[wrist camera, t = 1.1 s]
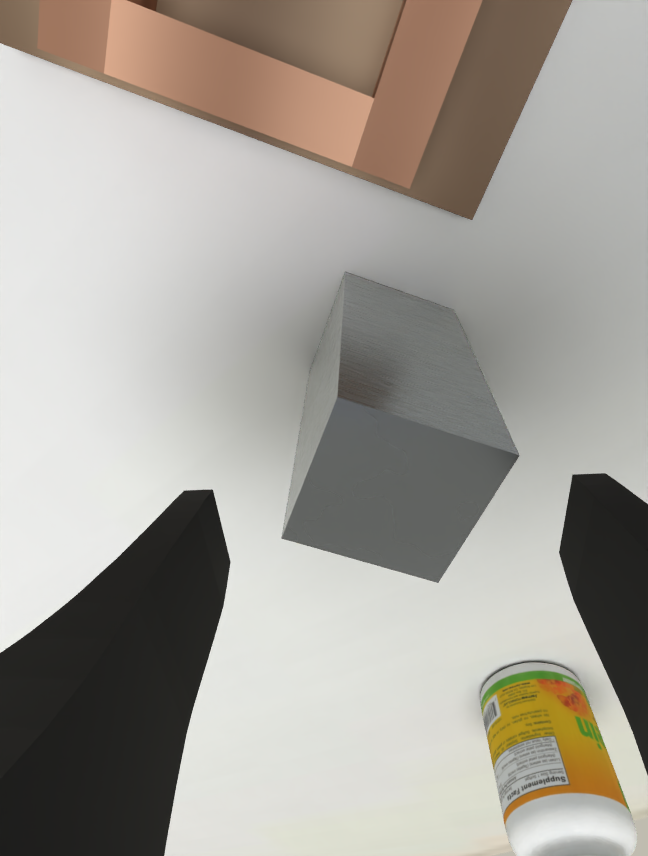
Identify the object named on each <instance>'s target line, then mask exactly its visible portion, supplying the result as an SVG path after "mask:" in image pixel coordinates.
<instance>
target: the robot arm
mask: <svg viewBox="0 0 648 856" xmlns="http://www.w3.org/2000/svg"><path fill="white" fill-rule="evenodd" d="M559 554H560V557H561V560H562V564H563V567H564V571H565V574H566V578H567V581H568V584H569V587H570V590H571V593H572V596H573V600H574V602H575V604H576V606H577V609H578V611H579V613H580V615H581V618H582V620H583V622H584V624H585V626H586V629H587V631H588V633H589V635H590V638H591V640H592V642H593V644H594V646H595V648H596V651H597V653H598V655H599V657H600V659H601V661H602V664H603V666H604V668H605V670H606V672H607V675H608V677H609V679H610V681H611V683H612V685H613V688H614V690H615V692H616V694H617V696H618V698H619V701H620V703H621V705H622V707H623V710H624V712H625V714H626V717H627V719H628V722H629V724H630V727H631V729H632V731H633V734H634V737H635V740H636V743H637V745H638V748H639V751H640V754H641V757H642V760H643V763H644V766H645V769H646V771H647V774H648V504H647V503H645V502H644V501H643V500H641V499H640V498H639V497H637V496H636V495H635V494H633V493H632V492H631V491H629V490H628V489H627V488H625V487H624V486H622V485H621V484H620V483H618V482H617V481H616V480H614V479H613V478H611V477H610V476H608V475H607V474H605V473H604V474H579V475H573V476H572V482H571V487H570V493H569V499H568V505H567V510H566V516H565V522H564V528H563V534H562V539H561V545H560V551H559ZM229 568H230V558H229V554H228V550H227V546H226V542H225V538H224V534H223V530H222V526H221V522H220V517H219V513H218V509H217V505H216V501H215V497H214V493H213V490H190V491H184V492H182V493H181V494H180V495H179V496H178V497H177V498H176V499H175V500H174V501H173V502H172V503H171V504H170V505H169V506H168V507H167V509H166V510H165V511H164V512H163V513H162V514H161V515H160V516H159V517H158V518H157V519H156V520H155V521H154V522H153V523H152V524H151V525H150V526H149V527H148V528H147V529H146V530H145V531H144V532H143V533H142V534H141V535H140V536H139V537H138V538H137V539H136V540H135V541H134V542H133V543H132V544H131V545H130V546H129V547H128V548H127V549H126V550H125V551H124V552H123V553H122V554H121V555H120V556H119V557H118V558H117V559H116V560H115V561H114V562H112V563H111V564H110V565H109V566H108V567H107V568H106V569H105V570H104V571H103V572H101V573H100V574H99V575H98V576H97V577H96V578H95V579H94V580H93V581H92V582H91V583H89V584H88V585H87V586H86V587H85V588H84V589H83V590H82V591H81V592H80V593H78V594H77V595H76V596H75V597H74V598H72V599H71V600H70V601H69V602H68V603H66V604H65V605H64V606H63V607H62V608H60V609H59V610H58V611H57V612H55V613H54V614H53V615H52V616H50V617H49V618H48V619H46V620H45V621H44V622H43V623H41V624H40V625H39V626H37V627H36V628H35V629H34V630H32V631H31V632H30V633H28V634H27V635H26V636H24V637H23V638H21V639H20V640H19V641H17V642H16V643H14V644H13V645H11V646H10V647H8V648H7V649H6V650H4V651H3V652H1V653H0V856H164V853H165V847H166V840H167V835H168V829H169V824H170V818H171V812H172V807H173V801H174V796H175V790H176V784H177V779H178V774H179V769H180V764H181V759H182V754H183V749H184V744H185V739H186V734H187V730H188V726H189V722H190V718H191V714H192V710H193V707H194V703H195V700H196V697H197V693H198V690H199V687H200V683H201V680H202V677H203V673H204V670H205V667H206V663H207V660H208V657H209V653H210V650H211V647H212V643H213V640H214V637H215V633H216V630H217V626H218V623H219V619H220V616H221V612H222V609H223V604H224V599H225V593H226V587H227V581H228V574H229Z"/></svg>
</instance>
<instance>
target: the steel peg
mask: <svg viewBox="0 0 648 856" xmlns="http://www.w3.org/2000/svg"><path fill="white" fill-rule="evenodd" d="M518 457H519V453H518V451H517V449H516V447H515V444H514V442H513V440H512V438H511V436H510V433H509V431H508V429H507V427H506V424H505V422H504V420H503V418H502V416H501V413H500V411H499V409H498V407H497V404H496V402H495V400H494V398H493V396H492V393H491V391H490V389H489V387H488V384H487V382H486V380H485V378H484V376H483V373H482V371H481V369H480V367H479V365H478V362H477V360H476V358H475V356H474V353H473V351H472V349H471V347H470V345H469V342H468V340H467V338H466V336H465V333H464V331H463V329H462V327H461V325H460V322H459V320H458V318H457V316H456V313H455V311H454V310H453V309H450V308H447V307H444V306H441V305H438V304H436V303H433V302H430V301H427V300H424V299H421V298H418V297H416V296H413V295H410V294H407V293H404V292H401V291H399V290H396V289H393V288H390V287H387V286H384V285H381V284H379V283H376V282H373V281H370V280H367V279H364V278H362V277H359V276H356V275H353V274H350V273H347V272H345V274H344V277H343V280H342V282H341V285H340V288H339V291H338V294H337V296H336V299H335V302H334V305H333V308H332V311H331V313H330V316H329V319H328V322H327V325H326V327H325V330H324V333H323V336H322V339H321V341H320V344H319V347H318V350H317V353H316V355H315V358H314V361H313V364H312V367H311V370H310V372H309V378H308V384H307V390H306V396H305V401H304V407H303V413H302V419H301V425H300V431H299V437H298V443H297V449H296V455H295V461H294V467H293V473H292V479H291V485H290V490H289V496H288V502H287V508H286V514H285V520H284V526H283V532H282V539H286V540H289V541H293V542H296V543H300V544H303V545H307V546H310V547H314V548H317V549H321V550H324V551H328V552H332V553H335V554H339V555H342V556H346V557H349V558H353V559H356V560H360V561H363V562H367V563H370V564H374V565H377V566H381V567H384V568H388V569H391V570H395V571H399V572H402V573H406V574H409V575H413V576H416V577H420V578H423V579H427V580H430V581H434V582H437V583H438V582H439V581H440V579H441V577H442V576H443V574H444V573H445V571H446V570H447V568H448V567H449V565H450V563H451V562H452V560H453V559H454V557H455V556H456V554H457V552H458V551H459V549H460V548H461V546H462V545H463V543H464V541H465V540H466V538H467V537H468V535H469V534H470V532H471V530H472V529H473V527H474V526H475V524H476V523H477V521H478V520H479V518H480V516H481V515H482V513H483V512H484V510H485V509H486V507H487V505H488V504H489V502H490V501H491V499H492V498H493V496H494V494H495V493H496V491H497V490H498V488H499V487H500V485H501V483H502V482H503V480H504V479H505V477H506V476H507V474H508V473H509V471H510V469H511V468H512V466H513V465H514V463H515V462H516V460H517V458H518Z"/></svg>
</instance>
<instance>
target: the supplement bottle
mask: <svg viewBox="0 0 648 856" xmlns="http://www.w3.org/2000/svg"><path fill="white" fill-rule="evenodd" d="M480 702H481V709H482V715H483V720H484V725H485V730H486V734H487V739H488V744H489V749H490V754H491V759H492V764H493V769H494V773H495V778H496V783H497V788H498V793H499V798H500V803H501V808H502V813H503V818H504V824H505V828H506V832H507V836H508V840H509V843H510V845H511V847H512V849H513V851H514V852H515V854H516V855H517V856H631V855H632V853H633V852H634V849H635V846H636V842H637V832H636V827H635V824H634V821H633V818H632V815H631V812H630V810H629V807H628V805H627V802H626V799H625V797H624V794H623V791H622V789H621V786H620V784H619V781H618V778H617V776H616V773H615V770H614V768H613V765H612V763H611V760H610V757H609V755H608V752H607V749H606V747H605V744H604V742H603V739H602V736H601V734H600V731H599V728H598V725H597V723H596V720H595V718H594V715H593V712H592V710H591V707H590V704H589V701H588V699H587V696H586V694H585V691H584V689H583V687H582V684H581V683H580V681H579V680H578V678H577V677H576V676H575V675H574V674H573V673H571V672H570V671H568V670H566V669H564V668H562V667H560V666H557V665H553V664H548V663H539V662H529V663H522V664H517V665H514V666H511V667H508V668H505V669H503V670H501V671H499V672H498V673H496V674H495V675H493V676H492V677H491V678H490V679H489V680H488V681H487V682H486V683H485V685H484V686H483V688H482V691H481V695H480Z"/></svg>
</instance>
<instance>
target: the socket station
mask: <svg viewBox="0 0 648 856" xmlns="http://www.w3.org/2000/svg"><path fill="white" fill-rule="evenodd" d="M571 2H572V0H0V43H2V44H4V45H7V46H10V47H12V48H15V49H18V50H20V51H23V52H26V53H28V54H31V55H34V56H36V57H39V58H42V59H44V60H47V61H50V62H52V63H55V64H58V65H60V66H63V67H66V68H68V69H71V70H74V71H76V72H79V73H82V74H84V75H87V76H90V77H92V78H95V79H98V80H100V81H103V82H106V83H108V84H111V85H114V86H116V87H119V88H122V89H124V90H127V91H130V92H132V93H135V94H138V95H140V96H143V97H146V98H148V99H151V100H153V101H156V102H159V103H161V104H164V105H167V106H169V107H172V108H175V109H177V110H180V111H183V112H185V113H188V114H191V115H193V116H196V117H199V118H201V119H204V120H207V121H209V122H212V123H215V124H217V125H220V126H223V127H225V128H228V129H231V130H233V131H236V132H239V133H241V134H244V135H247V136H249V137H252V138H255V139H257V140H260V141H263V142H265V143H268V144H271V145H273V146H276V147H279V148H281V149H284V150H287V151H289V152H292V153H295V154H297V155H300V156H303V157H305V158H308V159H311V160H313V161H316V162H319V163H321V164H324V165H327V166H329V167H332V168H335V169H337V170H340V171H343V172H345V173H348V174H351V175H353V176H356V177H359V178H361V179H364V180H367V181H369V182H372V183H375V184H377V185H380V186H383V187H385V188H388V189H391V190H393V191H396V192H399V193H401V194H404V195H407V196H409V197H412V198H415V199H417V200H420V201H423V202H425V203H428V204H431V205H433V206H436V207H438V208H441V209H444V210H446V211H449V212H452V213H454V214H457V215H460V216H462V217H465V218H468V219H470V220H472V219H473V217H474V215H475V213H476V210H477V208H478V206H479V204H480V202H481V199H482V197H483V195H484V193H485V191H486V188H487V186H488V184H489V182H490V180H491V178H492V175H493V173H494V171H495V169H496V167H497V164H498V162H499V160H500V158H501V156H502V153H503V151H504V149H505V147H506V145H507V142H508V140H509V138H510V136H511V134H512V132H513V129H514V127H515V125H516V123H517V121H518V118H519V116H520V114H521V112H522V110H523V107H524V105H525V103H526V101H527V99H528V96H529V94H530V92H531V90H532V88H533V85H534V83H535V81H536V79H537V77H538V75H539V72H540V70H541V68H542V66H543V64H544V61H545V59H546V57H547V55H548V53H549V50H550V48H551V46H552V44H553V42H554V39H555V37H556V35H557V33H558V31H559V28H560V26H561V24H562V22H563V20H564V18H565V15H566V13H567V11H568V9H569V7H570V4H571Z"/></svg>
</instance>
